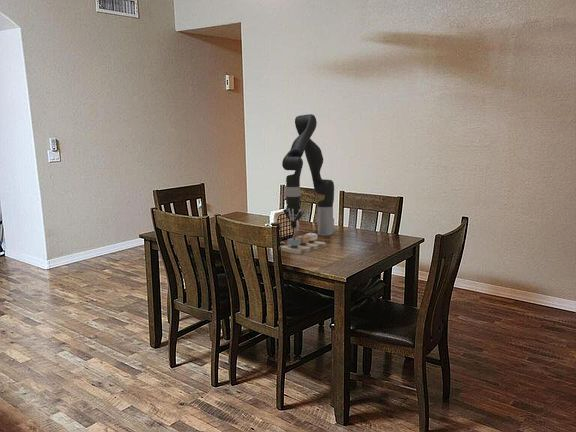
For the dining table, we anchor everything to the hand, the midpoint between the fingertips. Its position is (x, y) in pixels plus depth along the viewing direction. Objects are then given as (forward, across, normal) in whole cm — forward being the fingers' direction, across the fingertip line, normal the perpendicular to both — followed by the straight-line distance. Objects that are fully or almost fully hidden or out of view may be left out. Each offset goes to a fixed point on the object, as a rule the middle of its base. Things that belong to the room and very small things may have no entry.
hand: (293, 227), depth 263 cm
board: (+13, 0, -7) cm, 15 cm away
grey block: (+9, 0, 0) cm, 9 cm away
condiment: (+13, +18, -6) cm, 23 cm away
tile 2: (+9, 0, -7) cm, 11 cm away
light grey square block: (+9, 0, -14) cm, 17 cm away
